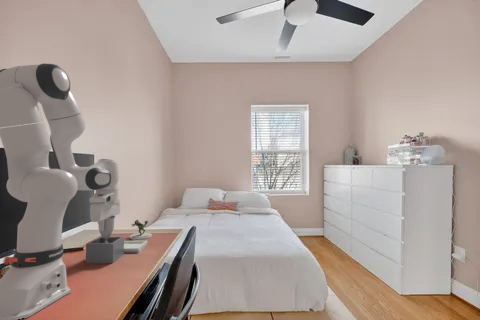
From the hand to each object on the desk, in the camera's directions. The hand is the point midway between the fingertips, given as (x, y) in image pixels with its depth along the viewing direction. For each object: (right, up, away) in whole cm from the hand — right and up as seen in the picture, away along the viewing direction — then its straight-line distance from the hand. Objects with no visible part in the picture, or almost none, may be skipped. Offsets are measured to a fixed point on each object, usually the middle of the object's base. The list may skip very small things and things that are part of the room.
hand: (106, 228), depth 111 cm
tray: (+4, -14, +14) cm, 20 cm away
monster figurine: (+1, -15, +36) cm, 39 cm away
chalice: (0, -13, 0) cm, 13 cm away
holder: (0, -13, 0) cm, 13 cm away
